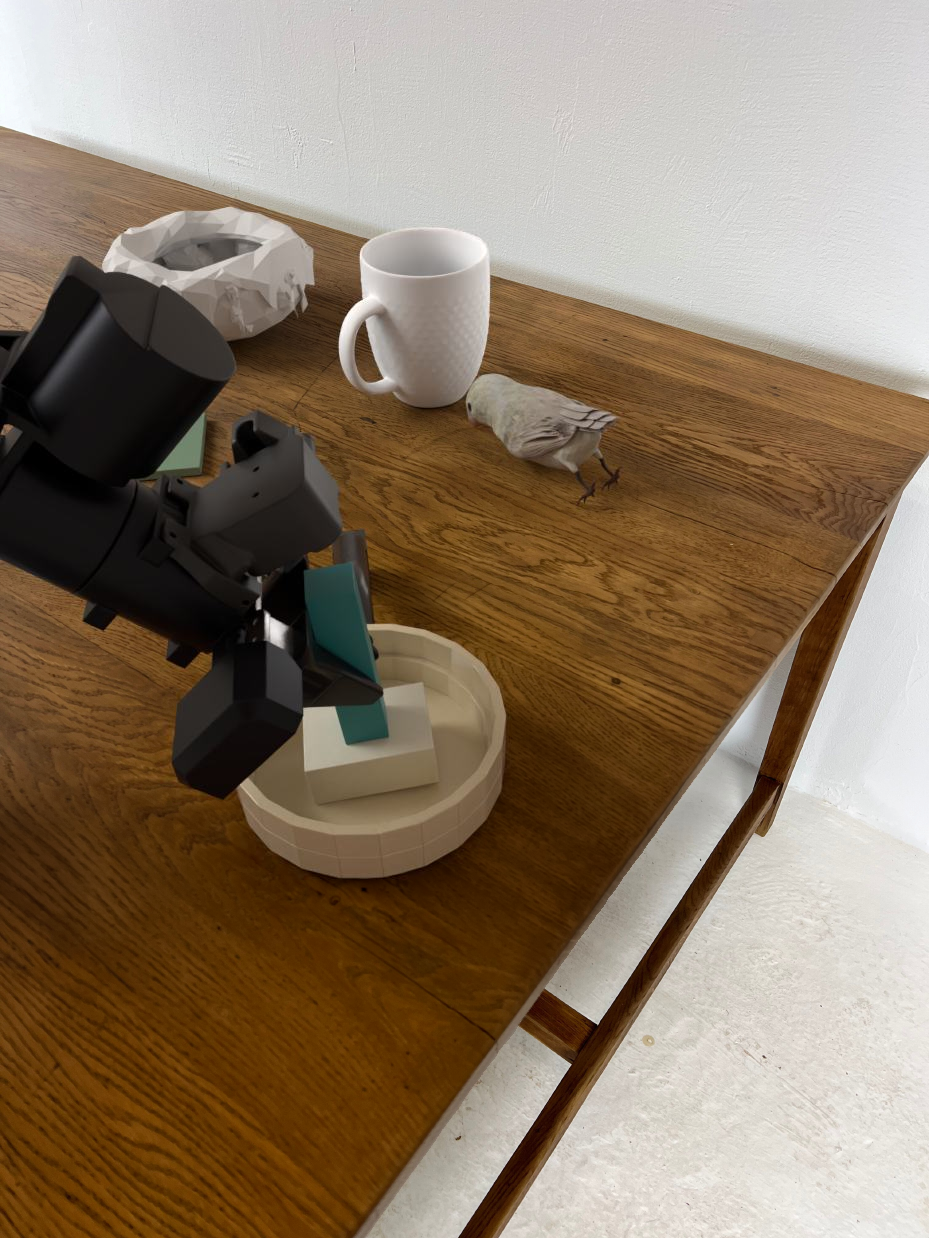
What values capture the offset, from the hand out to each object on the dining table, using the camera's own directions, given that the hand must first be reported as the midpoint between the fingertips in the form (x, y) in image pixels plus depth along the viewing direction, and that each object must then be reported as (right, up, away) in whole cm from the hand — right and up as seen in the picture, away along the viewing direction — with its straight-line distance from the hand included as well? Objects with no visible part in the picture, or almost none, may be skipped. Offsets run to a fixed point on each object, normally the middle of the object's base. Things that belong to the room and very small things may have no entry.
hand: (376, 678), depth 49 cm
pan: (-1, -6, +5) cm, 7 cm away
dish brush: (-1, -5, +4) cm, 7 cm away
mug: (+1, +24, +37) cm, 44 cm away
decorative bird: (+11, +16, +29) cm, 34 cm away
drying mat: (-23, +17, +31) cm, 42 cm away
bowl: (-21, +33, +48) cm, 62 cm away
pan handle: (-3, +2, +14) cm, 14 cm away
